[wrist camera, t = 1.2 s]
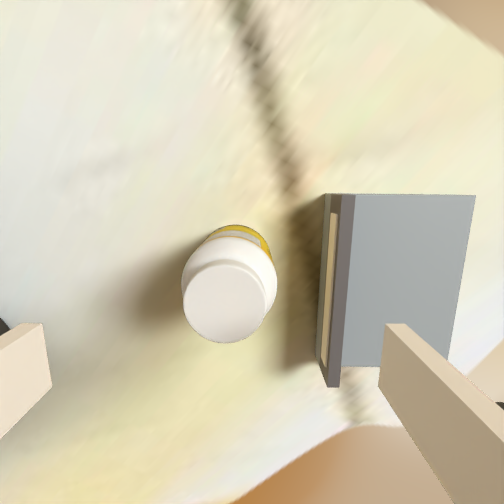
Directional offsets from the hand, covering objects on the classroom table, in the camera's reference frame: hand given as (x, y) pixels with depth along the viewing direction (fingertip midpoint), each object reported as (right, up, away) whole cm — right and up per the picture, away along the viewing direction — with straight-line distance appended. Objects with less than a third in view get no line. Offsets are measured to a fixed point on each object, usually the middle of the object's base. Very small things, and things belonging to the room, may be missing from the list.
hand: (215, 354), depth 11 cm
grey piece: (+14, +1, +17) cm, 22 cm away
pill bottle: (0, +3, +16) cm, 17 cm away
